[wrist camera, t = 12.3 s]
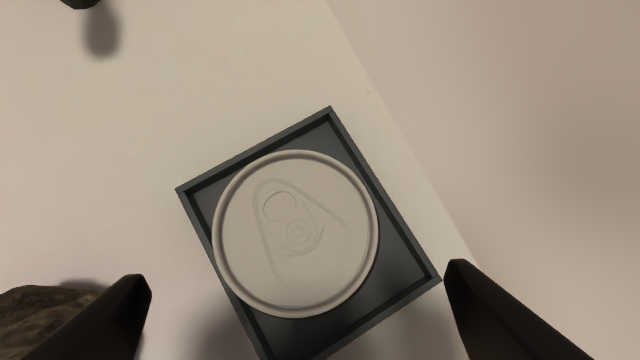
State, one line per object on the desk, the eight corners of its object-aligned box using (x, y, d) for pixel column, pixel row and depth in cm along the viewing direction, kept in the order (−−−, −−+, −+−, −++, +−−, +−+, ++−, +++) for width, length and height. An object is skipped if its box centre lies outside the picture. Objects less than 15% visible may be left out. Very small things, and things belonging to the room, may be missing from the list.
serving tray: (431, 277, 22) (443, 280, 20) (279, 377, 20) (275, 392, 18) (328, 115, 24) (330, 104, 22) (186, 193, 23) (174, 188, 21)
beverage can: (295, 302, 21) (271, 379, 9) (243, 227, 22) (161, 209, 10) (366, 245, 22) (430, 247, 10) (313, 176, 23) (314, 104, 11)
